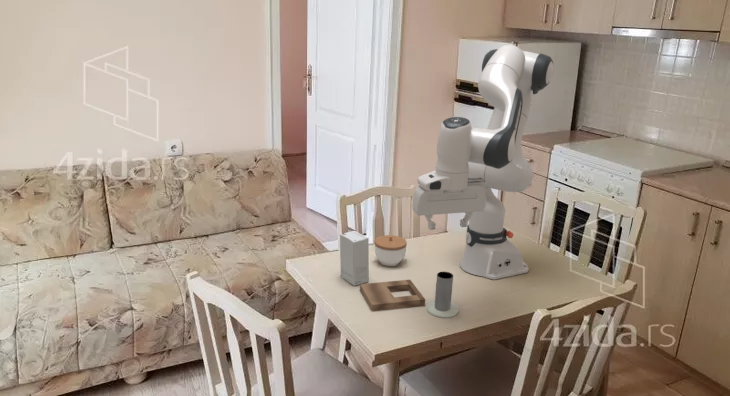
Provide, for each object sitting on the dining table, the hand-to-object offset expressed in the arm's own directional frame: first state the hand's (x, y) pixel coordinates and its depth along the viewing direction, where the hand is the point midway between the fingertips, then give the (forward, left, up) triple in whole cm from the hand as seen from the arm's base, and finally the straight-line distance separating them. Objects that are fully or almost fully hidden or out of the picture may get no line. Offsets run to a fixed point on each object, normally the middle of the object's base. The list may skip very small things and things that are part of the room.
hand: (447, 227), depth 163 cm
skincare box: (+20, -23, -25) cm, 40 cm away
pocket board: (+12, -9, -25) cm, 29 cm away
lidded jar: (+5, -33, -25) cm, 42 cm away
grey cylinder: (0, +1, -25) cm, 25 cm away
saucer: (0, +1, -25) cm, 25 cm away
